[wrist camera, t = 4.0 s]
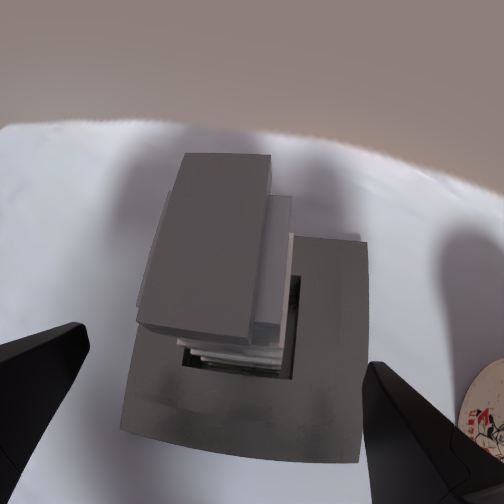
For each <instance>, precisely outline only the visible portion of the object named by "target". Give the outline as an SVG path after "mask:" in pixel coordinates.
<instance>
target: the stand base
mask: <svg viewBox="0 0 504 504" xmlns="http://www.w3.org/2000/svg"><path fill="white" fill-rule="evenodd" d="M177 339H178V338H174V337H168V336H164V335H163V334H158V333H152V332H151V331H149V330H148V329H146V328H145V327H143V326H142V325H140V324H139V327H138V331H137V336H136V340H135V345H134V350H133V355H132V360H131V365H130V370H129V376H128V381H127V387H126V393H125V398H124V405H123V411H122V417H121V424H120V429H121V430H124V431H127V432H131V433H134V434H137V435H141V436H144V437H148V438H152V439H155V440H159V441H163V442H167V443H171V444H175V445H180V446H184V447H189V448H194V449H198V450H204V451H209V452H214V453H220V454H226V455H233V456H240V457H247V458H255V459H264V460H274V461H287V462H303V463H358V462H359V455H360V447H361V439H362V431H363V408H362V383H363V380H364V376H365V373H366V370H367V366H368V344H369V274H368V249H367V242H357V241H346V240H334V239H322V238H310V237H297V236H294V238H293V251H292V264H291V277H290V288H289V300H288V311H287V321H286V332H285V342H284V350H283V357H282V363H281V370H280V375H274V374H264V373H255V372H246V371H238V370H230V369H223V368H216V367H211V366H209V365H208V362H203V361H201V360H200V359H201V357H200V356H194V355H192V354H191V353H190V351H191V349H189V348H183V347H180V346H179V345H177Z"/></svg>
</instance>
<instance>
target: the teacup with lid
mask: <svg viewBox="0 0 504 504" xmlns="http://www.w3.org/2000/svg"><path fill="white" fill-rule="evenodd" d="M458 428H459V429H460V430H461V431H463V432H464V433H465V434H466V435H467V436H468V437H470V438H471V439H472V440H473V441H474V442H476V443H477V444H478V445H480V446H481V447H482V448H484V449H485V450H486V451H488V452H489V453H490V454H492V455H493V456H495V457H496V458H498V459H499V460H500V461H502V462H503V463H504V358H501V359H499V360H496V361H494V362H492V363H491V364H489V365H488V366H486V367H485V368H484V369H483V370H482V371H481V372H480V373H479V374H478V375H477V377H476V378H475V379H474V381H473V382H472V384H471V385H470V387H469V389H468V391H467V393H466V395H465V398H464V401H463V403H462V407H461V410H460V415H459V421H458Z"/></svg>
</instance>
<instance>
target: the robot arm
mask: <svg viewBox="0 0 504 504" xmlns="http://www.w3.org/2000/svg"><path fill="white" fill-rule="evenodd" d="M89 350H90V343H89V339H88V335H87V330H86V327H85V325H84V324H82V323H78V322H71V323H68V324H65V325H62V326H59V327H55V328H52V329H49V330H46V331H43V332H40V333H37V334H33V335H30V336H27V337H24V338H21V339H18V340H14V341H11V342H8V343H5V344H2V345H0V504H7V503H8V501H9V499H10V497H11V495H12V493H13V491H14V489H15V487H16V485H17V483H18V481H19V479H20V477H21V474H22V472H23V470H24V468H25V467H26V465H27V463H28V461H29V459H30V457H31V455H32V453H33V452H34V450H35V448H36V446H37V444H38V442H39V441H40V439H41V437H42V435H43V434H44V432H45V430H46V428H47V426H48V425H49V423H50V421H51V420H52V418H53V416H54V414H55V413H56V411H57V409H58V408H59V406H60V404H61V403H62V401H63V399H64V398H65V396H66V394H67V393H68V391H69V390H70V388H71V386H72V384H73V382H74V381H75V379H76V376H77V374H78V372H79V370H80V368H81V366H82V364H83V362H84V360H85V358H86V356H87V354H88V352H89ZM362 408H363V434H364V442H365V449H366V456H367V463H368V471H369V479H370V488H371V497H372V504H504V463H503V462H502V461H500V460H499V459H498V458H496V457H495V456H493V455H492V454H490V453H489V452H488V451H486V450H485V449H484V448H482V447H481V446H480V445H478V444H477V443H476V442H474V441H473V440H472V439H471V438H470V437H468V436H467V435H466V434H465V433H464V432H463V431H461V430H460V429H459V428H458V427H457V426H454V424H453V423H452V422H451V421H450V420H449V419H448V418H447V417H445V416H444V415H443V414H442V413H441V412H440V411H439V410H438V409H436V408H435V407H434V406H433V405H432V404H431V403H430V402H428V401H427V400H426V399H425V398H424V397H423V396H422V395H420V394H419V393H418V392H417V391H416V390H415V389H414V388H413V387H411V386H410V385H409V384H408V383H407V382H406V381H405V380H403V379H402V378H401V377H400V376H399V375H398V374H397V373H395V372H394V371H393V370H392V369H391V368H390V367H389V366H388V365H386V364H385V363H384V362H381V361H371V362H370V363H369V364H368V366H367V370H366V373H365V376H364V380H363V383H362Z"/></svg>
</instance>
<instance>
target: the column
mask: <svg viewBox="0 0 504 504" xmlns="http://www.w3.org/2000/svg"><path fill="white" fill-rule="evenodd" d="M271 182H272V169H271V155H260V154H231V153H185V155H184V158H183V161H182V164H181V167H180V169H179V172H178V175H177V178H176V181H175V184H174V187H173V190H172V191H169V193H168V196H167V199H166V202H165V205H164V209H163V212H162V215H161V218H160V221H159V224H158V228H157V231H156V234H155V238H154V241H153V244H152V248H151V251H150V255H149V258H148V262H147V266H146V269H145V273H144V277H143V280H142V284H141V288H140V292H139V296H138V300H137V304H136V306H137V307H138V308H139V310H138V314H137V319H136V322H137V323H139V324H140V325H142V326H143V327H145V328H146V329H148V330H149V331H151V332H152V333H158V334H163V335H164V336H168V337H174V338H178V339H177V345H179V346H180V347H183V348H189V349H191V351H190V353H191V354H192V355H194V356H200V357H201V359H200V360H201V361H203V362H208V365H209V366H211V367H216V368H223V369H230V370H238V371H246V372H255V373H264V374H274V375H280V370H281V363H282V357H283V350H284V342H285V332H286V321H287V311H288V300H289V288H290V277H291V264H292V251H293V238H294V233H290V232H289V230H290V213H291V197H290V196H276V195H270V190H271Z"/></svg>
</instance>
